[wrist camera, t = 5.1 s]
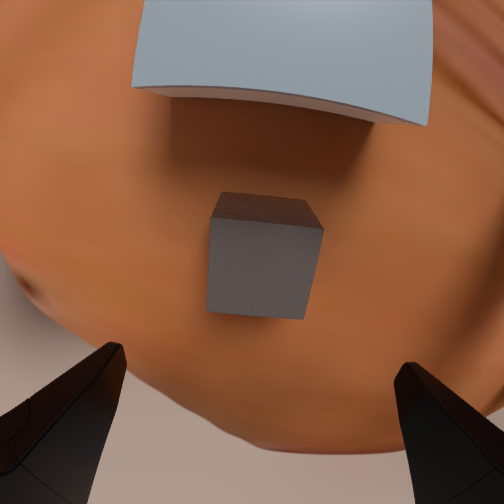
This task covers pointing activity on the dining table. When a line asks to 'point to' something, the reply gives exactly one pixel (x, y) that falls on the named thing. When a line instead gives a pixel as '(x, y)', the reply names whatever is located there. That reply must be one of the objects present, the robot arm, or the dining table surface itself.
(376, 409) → the dining table surface
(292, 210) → the block
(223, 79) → the box lid
